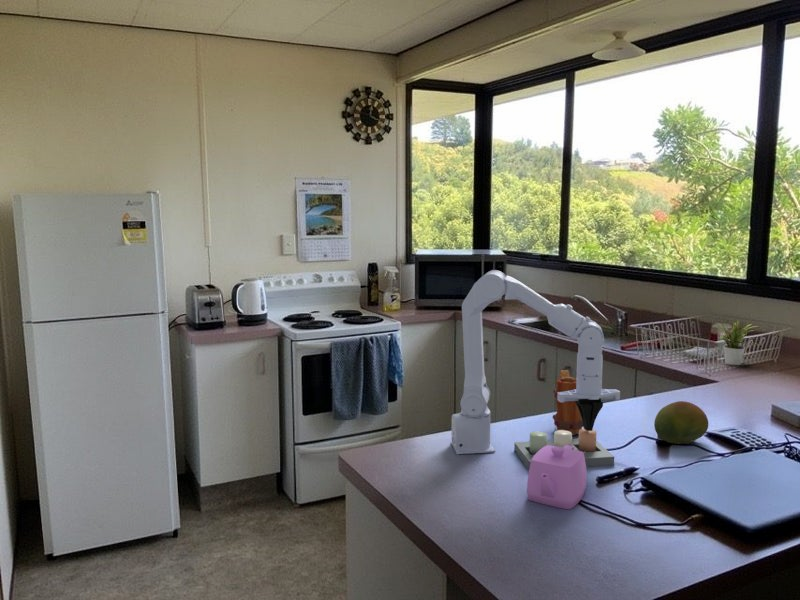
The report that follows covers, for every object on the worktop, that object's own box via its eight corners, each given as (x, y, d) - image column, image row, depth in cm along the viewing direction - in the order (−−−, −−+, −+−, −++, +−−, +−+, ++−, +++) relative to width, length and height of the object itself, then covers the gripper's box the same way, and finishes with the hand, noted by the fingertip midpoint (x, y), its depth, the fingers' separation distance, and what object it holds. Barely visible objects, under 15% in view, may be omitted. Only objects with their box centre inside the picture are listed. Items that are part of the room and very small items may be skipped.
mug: (588, 438, 163) (587, 380, 161) (555, 438, 164) (554, 381, 162) (579, 420, 177) (578, 367, 175) (549, 420, 178) (548, 367, 176)
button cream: (557, 454, 149) (557, 436, 149) (551, 447, 153) (552, 430, 153) (574, 453, 150) (574, 435, 149) (567, 446, 154) (568, 429, 153)
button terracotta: (582, 452, 150) (582, 435, 149) (575, 446, 154) (576, 429, 153) (598, 451, 150) (599, 434, 150) (591, 445, 154) (592, 428, 154)
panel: (529, 470, 145) (529, 461, 145) (514, 450, 157) (514, 442, 156) (614, 464, 147) (614, 456, 147) (593, 445, 159) (593, 437, 158)
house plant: (766, 368, 227) (769, 323, 224) (727, 369, 227) (729, 324, 225) (745, 359, 241) (748, 316, 239) (708, 359, 241) (710, 317, 239)
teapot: (568, 520, 122) (569, 469, 120) (516, 507, 127) (516, 458, 126) (594, 485, 137) (595, 439, 135) (546, 474, 143) (547, 430, 141)
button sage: (532, 455, 149) (532, 438, 148) (527, 449, 153) (527, 431, 152) (549, 454, 149) (549, 437, 149) (543, 448, 153) (543, 431, 152)
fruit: (712, 440, 161) (714, 402, 159) (694, 455, 152) (697, 415, 150) (665, 430, 168) (667, 393, 167) (646, 443, 159) (647, 405, 158)
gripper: (565, 379, 145) (564, 437, 147) (626, 376, 146) (624, 433, 148) (554, 371, 152) (553, 426, 154) (613, 368, 153) (611, 423, 155)
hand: (587, 429), depth 151 cm, fingers closed
